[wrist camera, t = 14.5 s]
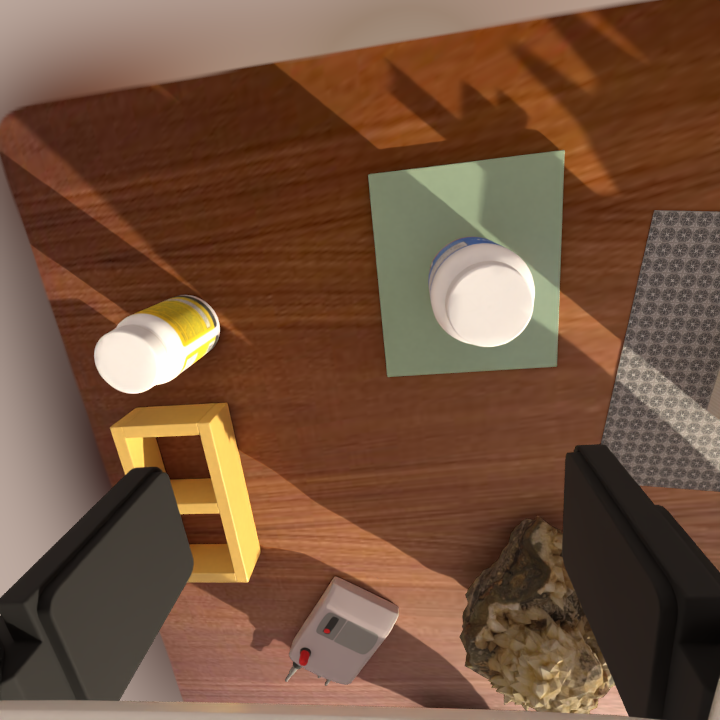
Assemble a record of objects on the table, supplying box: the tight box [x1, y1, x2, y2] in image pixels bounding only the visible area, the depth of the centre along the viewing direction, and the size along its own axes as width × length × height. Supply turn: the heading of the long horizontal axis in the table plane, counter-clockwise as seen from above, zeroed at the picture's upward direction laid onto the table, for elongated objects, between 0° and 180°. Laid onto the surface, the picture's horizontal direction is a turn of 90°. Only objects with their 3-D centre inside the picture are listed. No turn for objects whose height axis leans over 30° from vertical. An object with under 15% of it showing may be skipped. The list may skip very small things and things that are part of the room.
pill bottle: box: [428, 237, 535, 347], centre depth 26 cm, size 6×5×10 cm
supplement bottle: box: [94, 295, 220, 394], centre depth 30 cm, size 5×5×8 cm
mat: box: [368, 150, 565, 377], centre depth 30 cm, size 12×14×1 cm
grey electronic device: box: [285, 577, 399, 686], centre depth 42 cm, size 7×16×3 cm, turn 153°
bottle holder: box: [110, 403, 261, 582], centre depth 37 cm, size 8×15×4 cm, turn 6°
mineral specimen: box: [460, 516, 615, 714], centre depth 34 cm, size 14×13×10 cm
